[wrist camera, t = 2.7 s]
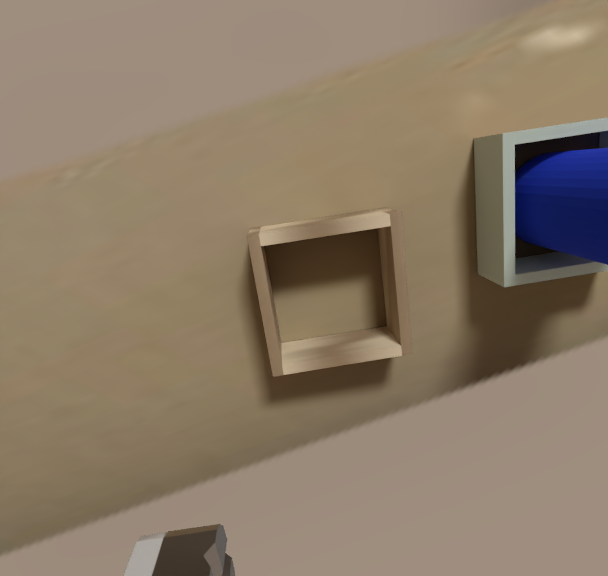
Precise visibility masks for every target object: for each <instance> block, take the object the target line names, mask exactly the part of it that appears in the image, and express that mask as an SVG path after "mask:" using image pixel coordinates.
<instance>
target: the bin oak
mask: <svg viewBox="0 0 608 576" xmlns="http://www.w3.org/2000/svg"><path fill="white" fill-rule="evenodd" d="M376 228H378V238H379V248H380V259H381V269H382V279H383V290H384V300H385V310H386V321H387V326H384V327H378V328H372V329H366V330H360V331H354V332H347V333H341V334H335V335H329V336H323V337H317V338H310V339H304V340H298V341H292V342H286V343H281V338H280V332H279V327H278V321H277V315H276V310H275V304H274V298H273V293H272V287H271V281H270V275H269V270H268V264H267V258H266V253H265V247H264V246H267V245H273V244H280V243H286V242H292V241H299V240H305V239H312V238H318V237H324V236H331V235H337V234H344V233H350V232H356V231H363V230H369V229H376ZM247 240H248V245H249V251H250V256H251V262H252V267H253V272H254V278H255V283H256V288H257V294H258V299H259V305H260V310H261V315H262V321H263V326H264V331H265V337H266V342H267V348H268V353H269V358H270V364H271V369H272V374H273V377H275V376H281V375H287V374H293V373H299V372H305V371H311V370H317V369H324V368H330V367H336V366H342V365H348V364H354V363H360V362H366V361H372V360H379V359H385V358H391V357H397V356H403V355H409V354H413V350H412V338H411V325H410V313H409V300H408V287H407V275H406V262H405V249H404V237H403V224H402V212H399V211H396V210H392V209H389V208H380V209H373V210H367V211H361V212H354V213H348V214H341V215H335V216H328V217H322V218H316V219H309V220H303V221H296V222H290V223H283V224H277V225H270V226H264V227H258V228H251V229H250V231H249V233H248V235H247Z"/></svg>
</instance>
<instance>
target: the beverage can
mask: <svg viewBox="0 0 608 576" xmlns="http://www.w3.org/2000/svg"><path fill="white" fill-rule="evenodd" d="M515 235H516V236H517V237H518V238H520V239H521V240H523V241H525V242H527V243H530V244H534V245H538V246H541V247H545V248H549V249H552V250H556V251H559V252H563V253H567V254H570V255H574V256H578V257H581V258H585V259H589V260H592V261H596V262H599V263H603V264H607V265H608V148H599V149H586V150H573V151H560V152H549V153H545V154H541V155H539V156H536V157H534V158H533V159H531V160H529V161H528V162H526V163H525V164H524V165H523V166H522V167H521V168H520V169H519V170H518V171H517V172H516V173H515Z"/></svg>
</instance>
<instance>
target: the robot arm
mask: <svg viewBox="0 0 608 576" xmlns="http://www.w3.org/2000/svg"><path fill="white" fill-rule="evenodd" d="M226 543H227V538H226V534H225V531H224V527H223V525H221V524H217V525H210V526H203V527H197V528H189V529H182V530H175V531H168V532H166V533H159V534H151V535H144V536H141V537H140V538H139V540H138V541H137V542H136V543H135V545H134V548H133V551H132V553H131V556H130V558H129V561H128V563H127V566H126V569H125V571H124V574H123V576H235V571H234V566H233V561H232V558H231V557H230V556H228V555H227V554H226V553H225V551H226Z"/></svg>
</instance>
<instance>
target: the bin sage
mask: <svg viewBox="0 0 608 576" xmlns="http://www.w3.org/2000/svg"><path fill="white" fill-rule="evenodd" d="M595 132H600V136H599V148H608V118H601V119H595V120H588V121H582V122H575V123H569V124H562V125H555V126H549V127H542V128H536V129H529V130H523V131H516V132H509V133H503V134H497V135H491V136H486V137H480V138H474V164H475V198H476V232H477V266H478V275H480V276H482V277H484V278H486V279H488V280H490V281H492V282H494V283H496V284H498V285H500V286H502V287H510V286H516V285H522V284H528V283H535V282H541V281H547V280H553V279H560V278H566V277H572V276H578V275H584V274H591V273H597V272H603V271H608V265H607V264H603V263H599V262H596V261H592V260H589V259H585V258H581V257H578V256H574V255H570V254H567V253H563V252H553V253H547V254H541V255H534V256H528V257H522V258H515V145H516V144H523V143H529V142H536V141H542V140H549V139H555V138H562V137H568V136H575V135H582V134H588V133H595Z"/></svg>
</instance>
